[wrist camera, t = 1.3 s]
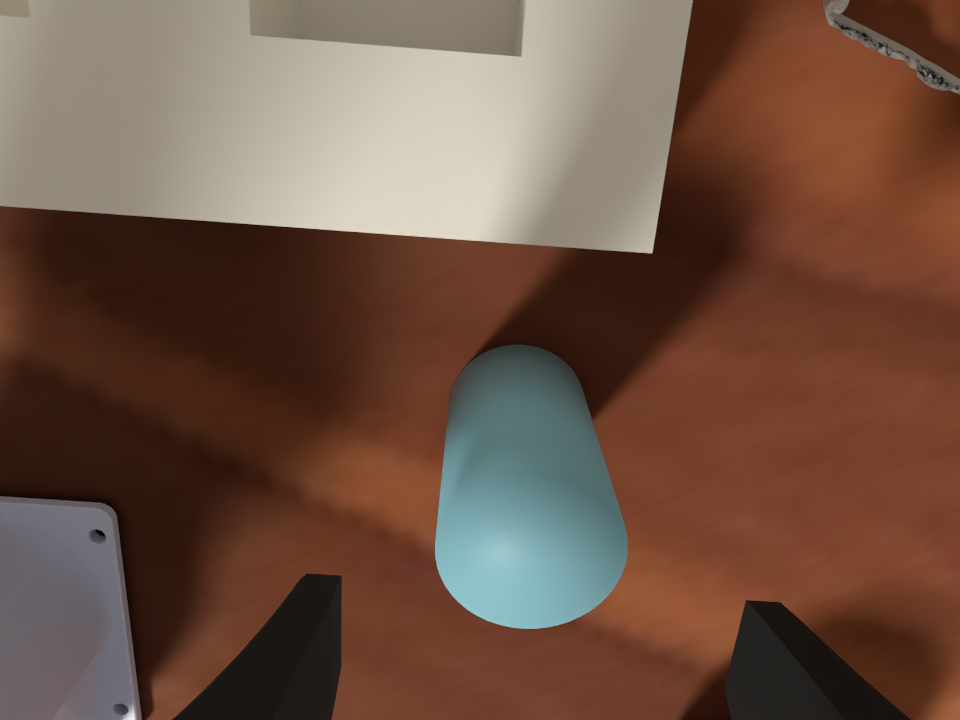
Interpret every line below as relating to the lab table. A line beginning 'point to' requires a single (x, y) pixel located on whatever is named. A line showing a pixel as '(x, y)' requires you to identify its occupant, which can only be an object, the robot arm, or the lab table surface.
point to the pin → (526, 494)
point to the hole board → (348, 114)
